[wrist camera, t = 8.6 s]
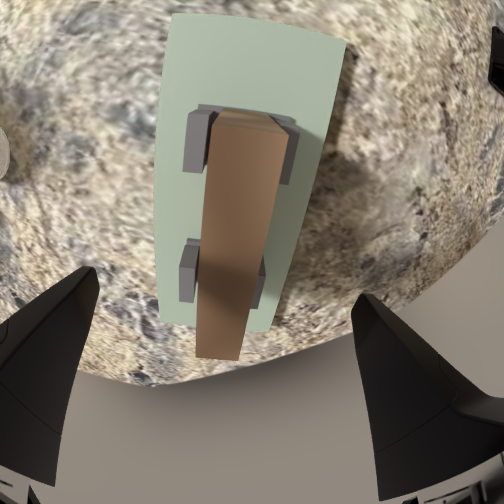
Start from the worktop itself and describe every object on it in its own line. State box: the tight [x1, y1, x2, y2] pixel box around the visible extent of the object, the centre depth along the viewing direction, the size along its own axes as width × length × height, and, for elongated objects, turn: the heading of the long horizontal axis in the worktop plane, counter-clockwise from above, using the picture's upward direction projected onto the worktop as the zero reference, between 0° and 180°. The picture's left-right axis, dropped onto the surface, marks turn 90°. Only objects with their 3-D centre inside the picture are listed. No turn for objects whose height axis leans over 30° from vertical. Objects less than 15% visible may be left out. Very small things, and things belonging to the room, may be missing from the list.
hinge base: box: [154, 13, 347, 332], centre depth 17 cm, size 10×24×4 cm, turn 171°
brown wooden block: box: [196, 108, 289, 361], centre depth 14 cm, size 2×12×7 cm, turn 171°
